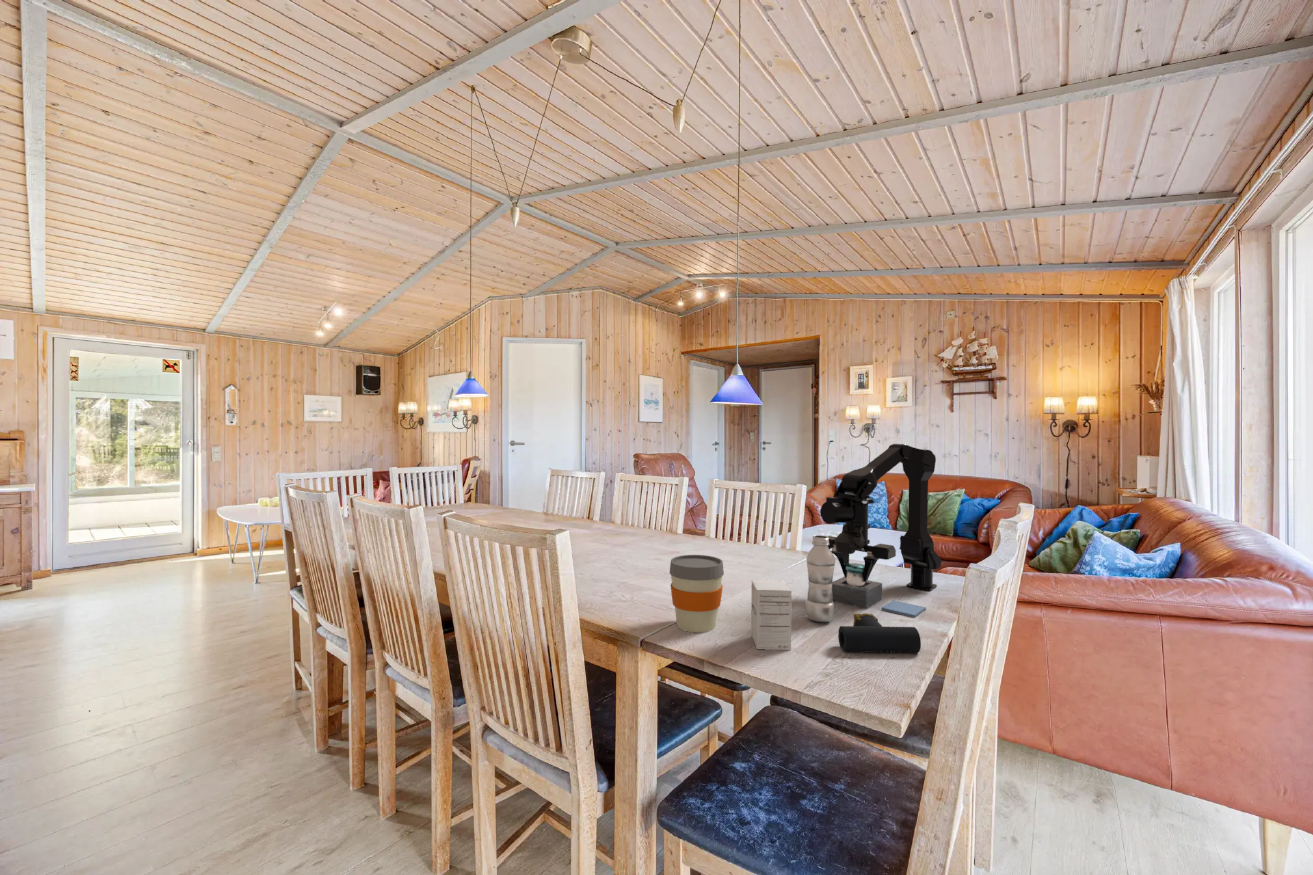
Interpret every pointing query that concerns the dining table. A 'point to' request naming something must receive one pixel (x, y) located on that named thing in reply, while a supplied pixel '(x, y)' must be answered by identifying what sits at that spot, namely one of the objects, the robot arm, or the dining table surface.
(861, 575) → the green lidded jar
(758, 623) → the supplement box
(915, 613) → the mat
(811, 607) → the plastic bottle
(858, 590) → the housing
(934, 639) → the dining table surface
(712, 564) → the reusable coffee cup
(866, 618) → the pipe connector
